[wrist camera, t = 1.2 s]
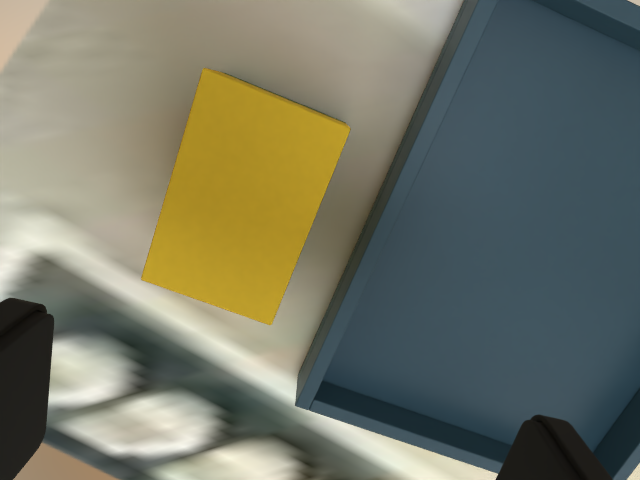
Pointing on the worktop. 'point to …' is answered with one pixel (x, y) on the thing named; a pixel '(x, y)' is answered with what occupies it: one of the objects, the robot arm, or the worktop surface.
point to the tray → (501, 246)
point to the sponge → (242, 196)
